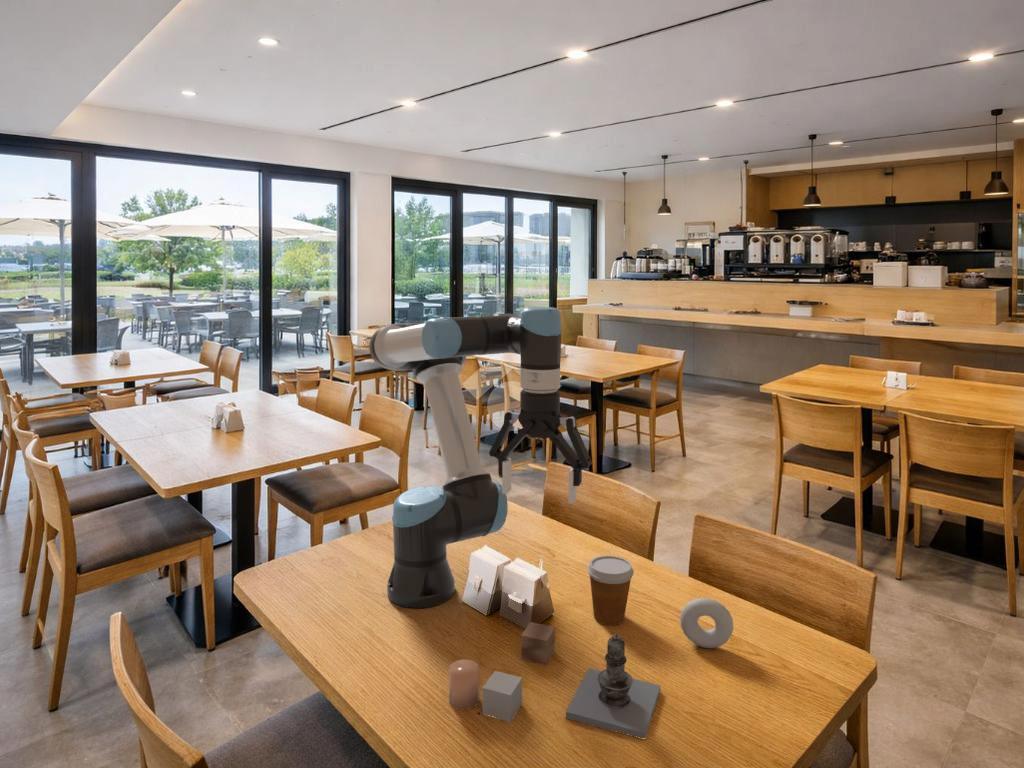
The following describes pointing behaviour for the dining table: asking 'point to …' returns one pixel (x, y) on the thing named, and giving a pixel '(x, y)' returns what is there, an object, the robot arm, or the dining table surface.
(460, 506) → the robot arm
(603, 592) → the disposable coffee cup
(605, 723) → the slate board
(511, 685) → the grey block
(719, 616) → the donut
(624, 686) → the salt shaker
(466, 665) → the peach rounded capsule
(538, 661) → the walnut block
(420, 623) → the dining table surface
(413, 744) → the dining table surface
